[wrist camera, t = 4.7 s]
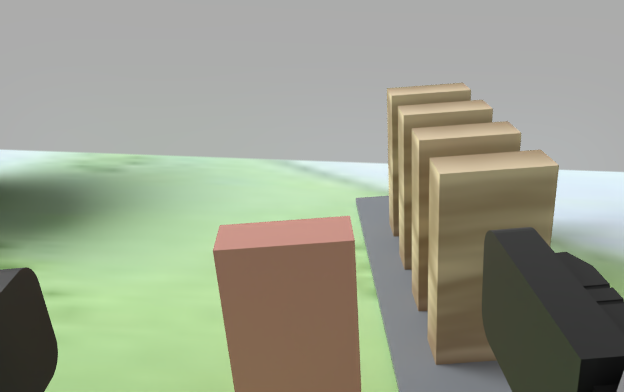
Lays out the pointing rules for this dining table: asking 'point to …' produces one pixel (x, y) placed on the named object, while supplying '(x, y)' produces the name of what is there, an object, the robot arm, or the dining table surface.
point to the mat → (413, 317)
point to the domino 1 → (290, 304)
